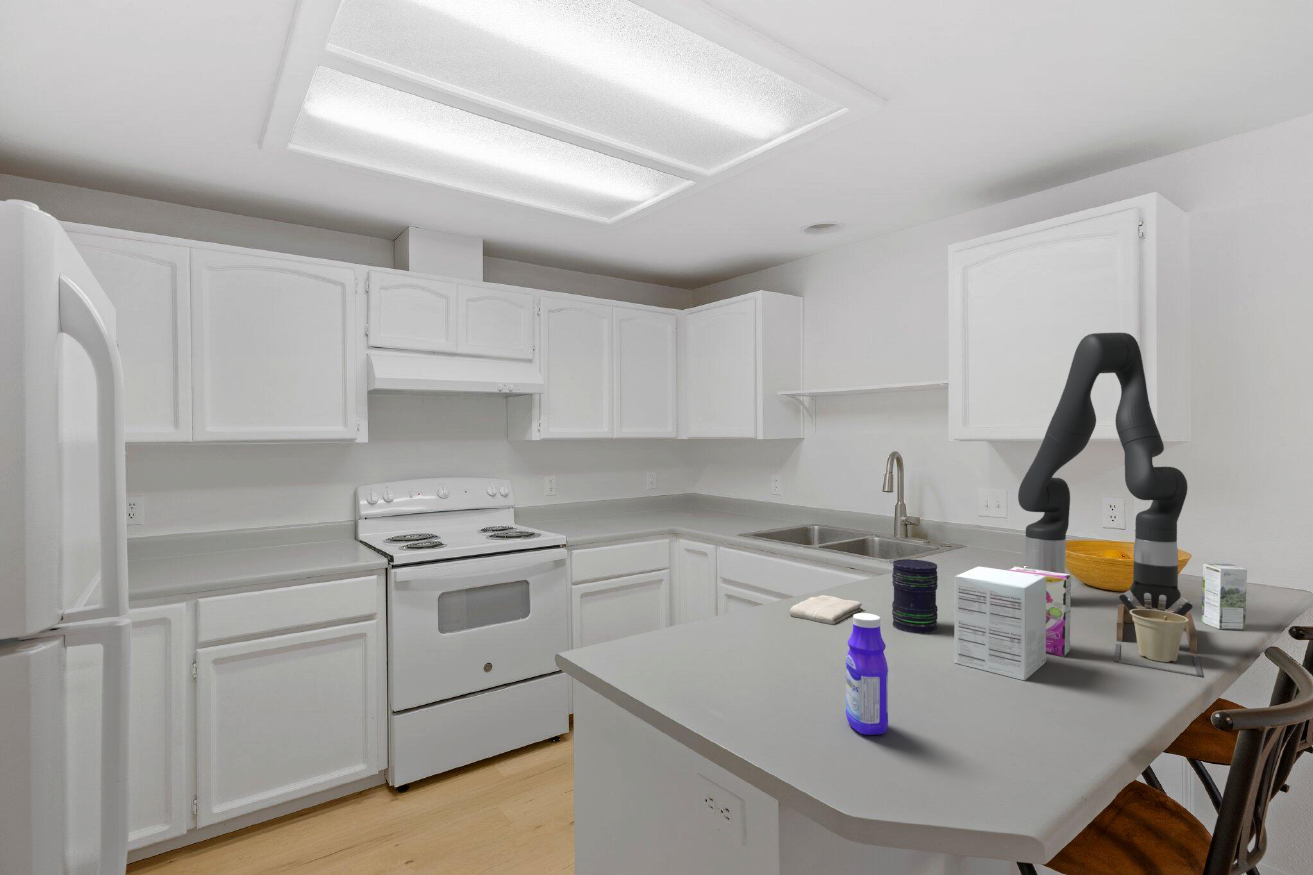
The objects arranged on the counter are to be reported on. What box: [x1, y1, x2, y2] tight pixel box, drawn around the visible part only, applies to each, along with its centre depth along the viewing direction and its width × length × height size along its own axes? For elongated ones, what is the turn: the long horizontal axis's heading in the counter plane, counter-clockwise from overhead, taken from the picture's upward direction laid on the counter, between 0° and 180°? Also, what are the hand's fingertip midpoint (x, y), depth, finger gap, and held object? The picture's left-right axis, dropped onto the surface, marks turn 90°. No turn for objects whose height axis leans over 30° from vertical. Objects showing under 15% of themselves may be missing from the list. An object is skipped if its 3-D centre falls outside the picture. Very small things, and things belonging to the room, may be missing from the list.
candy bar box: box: [1006, 566, 1072, 658], centre depth 137 cm, size 11×5×16 cm, turn 47°
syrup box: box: [1200, 562, 1248, 631], centre depth 152 cm, size 6×6×14 cm
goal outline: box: [1113, 643, 1204, 678], centre depth 130 cm, size 14×13×1 cm
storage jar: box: [891, 558, 939, 635], centre depth 152 cm, size 10×10×15 cm
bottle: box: [845, 612, 889, 736], centre depth 101 cm, size 7×6×17 cm
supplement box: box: [953, 565, 1047, 681], centre depth 129 cm, size 13×13×18 cm
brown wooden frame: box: [1116, 603, 1198, 654], centre depth 145 cm, size 14×18×4 cm
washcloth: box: [789, 594, 863, 626], centre depth 164 cm, size 12×18×3 cm, turn 140°
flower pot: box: [1130, 609, 1188, 663], centre depth 132 cm, size 9×9×9 cm
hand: (1154, 641), depth 138 cm, fingers closed
